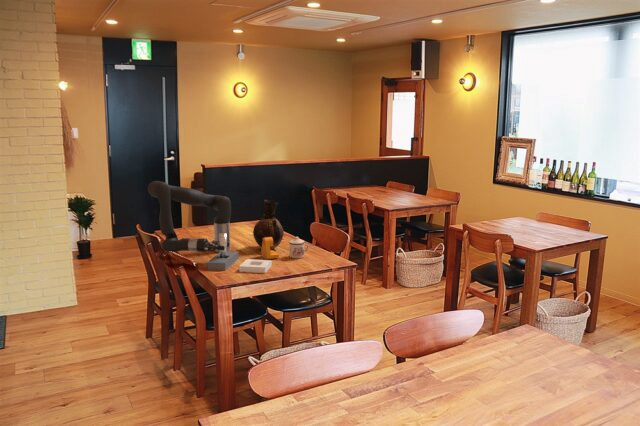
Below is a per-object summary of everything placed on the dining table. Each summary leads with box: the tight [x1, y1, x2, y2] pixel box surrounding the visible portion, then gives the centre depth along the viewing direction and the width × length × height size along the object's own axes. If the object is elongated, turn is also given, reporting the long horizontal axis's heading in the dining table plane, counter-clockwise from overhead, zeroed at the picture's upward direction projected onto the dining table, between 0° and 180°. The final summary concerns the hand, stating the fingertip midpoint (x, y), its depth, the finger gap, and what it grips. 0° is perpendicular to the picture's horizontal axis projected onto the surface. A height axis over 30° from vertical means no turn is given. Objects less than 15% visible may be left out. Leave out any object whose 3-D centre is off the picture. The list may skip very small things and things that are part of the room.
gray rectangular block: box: [206, 250, 240, 271], centre depth 314 cm, size 24×10×4 cm, turn 171°
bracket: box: [260, 237, 280, 260], centre depth 327 cm, size 11×7×12 cm, turn 24°
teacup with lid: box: [288, 236, 310, 259], centre depth 330 cm, size 12×9×12 cm
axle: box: [219, 233, 227, 258], centre depth 313 cm, size 4×4×17 cm
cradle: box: [238, 258, 273, 274], centre depth 305 cm, size 14×14×3 cm
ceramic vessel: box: [252, 199, 285, 250], centre depth 346 cm, size 21×18×30 cm
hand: (226, 246), depth 312 cm, fingers open, 7 cm apart
